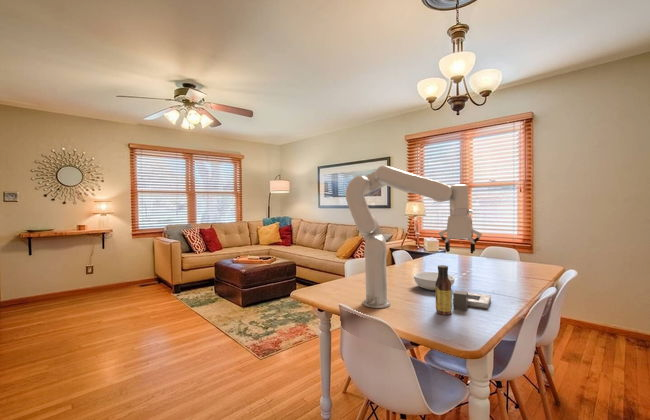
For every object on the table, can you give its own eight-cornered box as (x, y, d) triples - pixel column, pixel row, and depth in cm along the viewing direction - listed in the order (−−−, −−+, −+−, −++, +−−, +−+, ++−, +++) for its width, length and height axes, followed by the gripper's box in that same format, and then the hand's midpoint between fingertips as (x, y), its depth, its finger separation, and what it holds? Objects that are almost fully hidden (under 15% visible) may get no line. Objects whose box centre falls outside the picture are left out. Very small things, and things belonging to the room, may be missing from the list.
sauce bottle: (438, 309, 133) (438, 263, 132) (453, 312, 129) (453, 265, 129) (433, 313, 128) (432, 266, 127) (448, 317, 124) (448, 267, 123)
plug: (466, 311, 130) (465, 294, 130) (453, 309, 133) (453, 293, 133) (468, 307, 135) (467, 291, 134) (455, 305, 137) (455, 290, 137)
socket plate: (487, 309, 132) (487, 302, 132) (452, 304, 139) (452, 297, 139) (490, 300, 143) (490, 294, 143) (458, 296, 151) (458, 290, 151)
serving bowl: (448, 296, 152) (448, 282, 152) (407, 290, 164) (407, 277, 164) (459, 287, 168) (459, 274, 168) (421, 282, 181) (421, 270, 181)
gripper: (482, 212, 132) (483, 252, 132) (440, 212, 141) (441, 249, 142) (480, 213, 126) (481, 254, 126) (436, 213, 135) (437, 252, 135)
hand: (459, 252), depth 134 cm, fingers open, 9 cm apart
